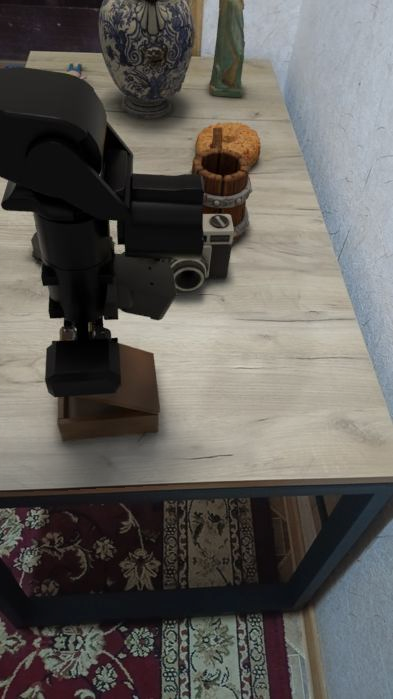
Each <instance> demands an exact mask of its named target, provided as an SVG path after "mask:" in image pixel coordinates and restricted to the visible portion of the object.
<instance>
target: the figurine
mask: <svg viewBox="0 0 393 699" xmlns="http://www.w3.org/2000/svg"><path fill="white" fill-rule="evenodd" d="M82 69H83V63H82V61H79V62H78V63H77V67H76V68H74V62H73V61H70V63H69V65H68V70H66V73H67V74H71V75H74V76H76V77H78V78H80V79H82V80H84V81H85V80H87V79H88V75H85V76H82V74H81V70H82Z"/></svg>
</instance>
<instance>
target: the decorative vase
mask: <svg viewBox="0 0 393 699" xmlns="http://www.w3.org/2000/svg"><path fill="white" fill-rule="evenodd" d="M195 37H196V36H195V19H194V15H193V12H192V9H191V7H190V5H189V3H188V2H187V1H186V0H103V1H102V3H101V6H100V9H99V14H98V38H99V46H100V51H101V54H102V58H103V61H104V64H105V66H106V69H107V71H108V73H109V75H110V77H111V79H112V81H113V83H114V84H115V86H116V87H117V88H118V90H119V91H120V93H122V94H123V95H124V97H123V99H122V102H121V106H122V109H123V110H124V112H126V113H127V114H128V115H130V116H132V117H134V118H139V119H145V120H152V119H153V120H154V119H159V118H162V117H165V116H166V115H168V114H169V113H170V112H171V109H172V105H171V102H170V98H172V97H173V96H174V95H176V94H177V93H179V92H181V91H182V90H181V89H182V87H183V83H184V82H185V79H186V74H187V72H188V69H189V66H190V63H191V60H192V57H193V51H194V45H195Z"/></svg>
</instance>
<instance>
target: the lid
mask: <svg viewBox="0 0 393 699" xmlns="http://www.w3.org/2000/svg"><path fill="white" fill-rule="evenodd" d="M89 331H92V322H89ZM73 332H77V330H76V329H75V331H73ZM73 332H65V331H64V325H62V326H61V327H60V328H59V339H58V341H61V340H68V339H69V338H73ZM118 344H119V350H120V366H121V384H122V388H121V389H119V390H118V391H117V392H116V393H112V394H98V395H84V396H75V397H80V398H84V399H89V400H93V401H98V402H102V403H107V404H111V405H116V406H120V407H125V408H129V409H134V410H138V411H143V412H147V413H152V414H158V413H159V414H160V413H161V407H160V406H161V405H160V397H159V388H158V380H157V373H156V372H157V371H156V363H155V362H156V361H155V354H154V352H150V351H147V350H144V349H140V348H136V347H134V346H130V345H127V344H123V343H121V342H118Z"/></svg>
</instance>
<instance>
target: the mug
mask: <svg viewBox="0 0 393 699" xmlns="http://www.w3.org/2000/svg"><path fill="white" fill-rule="evenodd" d="M222 137H223V136H222V128H221V127H214V128H213V140H212V143H211V144H210V149H207V150H204V151H202V152H200V153H199V154H196V155H195V156H194V158H193V159H192V166H191V169H190V170H189V172H188V173H187V174H196V175H201V176H202V177H203V184H204V198H203V214H229V215H231V218H232V223H233V227H234V235H233V242H234V241H237V240H238V239H239V238H240V237H241V236H242V234H243V233H244V232H245V231H246V230H247V227H248V226H249V225H250V220H249V210H248V207H247V206H246V205H247V200H248V199H249V198H250V195H251V193H252V192H253V188H252V180H251V177H250V176H249V175H250V174H249V173H250V168H249V164H248V161H247V160H246V159H245V158H242V155H240V154H239V153H237V152H235V151H232V150H229V149H222Z"/></svg>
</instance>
